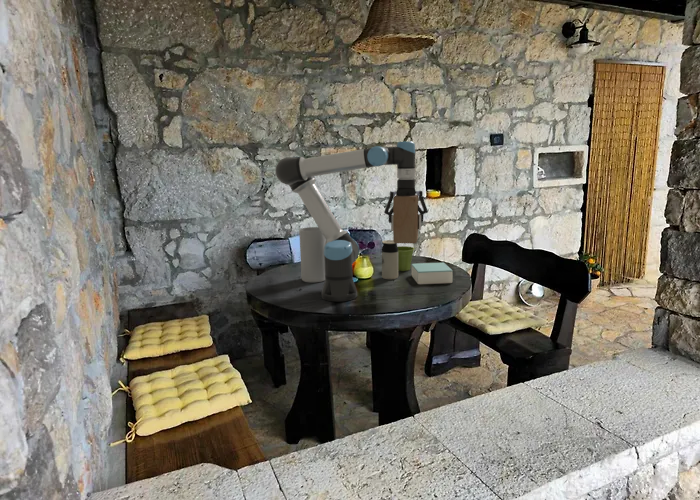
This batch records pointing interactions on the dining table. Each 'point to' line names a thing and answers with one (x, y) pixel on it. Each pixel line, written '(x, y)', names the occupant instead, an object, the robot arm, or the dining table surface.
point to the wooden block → (405, 219)
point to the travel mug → (389, 260)
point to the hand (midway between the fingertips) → (405, 230)
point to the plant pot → (404, 257)
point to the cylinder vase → (312, 254)
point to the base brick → (432, 273)
